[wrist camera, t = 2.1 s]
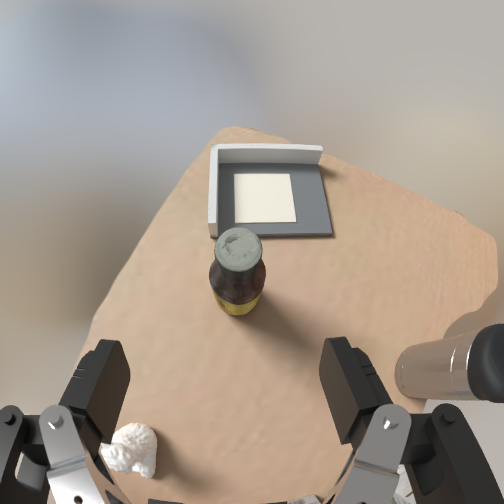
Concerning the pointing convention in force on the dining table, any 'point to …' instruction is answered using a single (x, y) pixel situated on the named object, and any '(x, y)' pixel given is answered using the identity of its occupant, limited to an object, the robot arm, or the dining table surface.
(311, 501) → the coffee box
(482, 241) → the dining table surface
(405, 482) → the syrup box
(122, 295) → the dining table surface
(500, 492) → the robot arm
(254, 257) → the sauce bottle
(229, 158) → the grey tray
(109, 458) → the sitting furry creature
